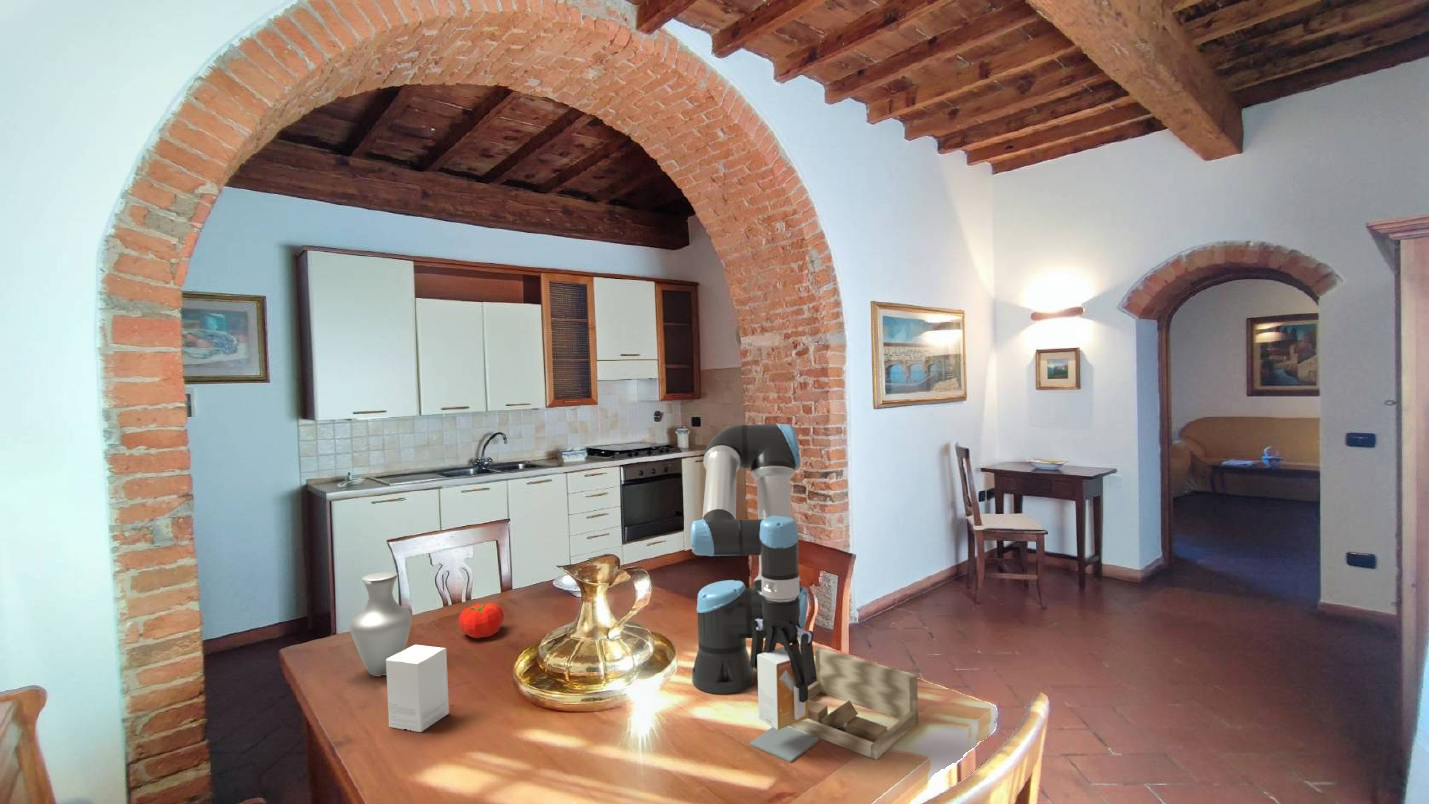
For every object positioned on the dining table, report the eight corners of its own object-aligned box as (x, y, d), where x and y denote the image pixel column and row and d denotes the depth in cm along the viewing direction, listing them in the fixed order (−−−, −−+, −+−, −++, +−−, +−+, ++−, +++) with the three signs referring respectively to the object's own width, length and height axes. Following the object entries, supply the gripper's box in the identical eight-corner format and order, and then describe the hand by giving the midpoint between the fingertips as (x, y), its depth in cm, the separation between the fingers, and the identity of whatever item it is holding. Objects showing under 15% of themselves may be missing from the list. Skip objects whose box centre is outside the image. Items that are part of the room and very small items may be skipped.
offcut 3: (846, 740, 134) (845, 723, 134) (856, 732, 137) (855, 715, 137) (877, 752, 130) (877, 735, 130) (887, 744, 133) (887, 726, 133)
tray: (772, 719, 143) (771, 673, 143) (818, 689, 157) (817, 646, 156) (876, 759, 127) (875, 707, 127) (918, 721, 141) (917, 674, 140)
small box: (778, 731, 129) (776, 664, 128) (757, 718, 134) (756, 653, 134) (809, 718, 133) (807, 653, 133) (789, 707, 138) (787, 644, 138)
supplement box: (450, 713, 150) (448, 647, 150) (421, 733, 141) (418, 663, 141) (418, 708, 153) (415, 643, 152) (387, 727, 144) (384, 658, 144)
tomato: (472, 626, 205) (471, 597, 205) (511, 627, 203) (510, 598, 203) (448, 643, 191) (447, 613, 191) (490, 645, 190) (488, 614, 189)
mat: (749, 745, 133) (749, 743, 133) (778, 724, 141) (778, 723, 141) (790, 762, 127) (790, 760, 127) (819, 740, 134) (819, 738, 134)
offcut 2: (829, 733, 137) (820, 720, 138) (839, 726, 140) (830, 712, 141) (848, 721, 134) (839, 707, 135) (858, 713, 137) (849, 700, 138)
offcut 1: (789, 720, 143) (789, 703, 143) (799, 712, 146) (799, 696, 146) (818, 729, 139) (818, 713, 139) (827, 721, 142) (827, 705, 142)
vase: (339, 679, 170) (334, 581, 169) (386, 657, 183) (382, 566, 182) (381, 687, 164) (376, 586, 163) (426, 664, 177) (422, 570, 177)
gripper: (729, 592, 137) (732, 702, 137) (813, 611, 124) (816, 734, 124) (752, 583, 143) (755, 689, 143) (834, 601, 129) (837, 718, 130)
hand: (783, 710), depth 134 cm, fingers closed on small box, 7 cm apart
